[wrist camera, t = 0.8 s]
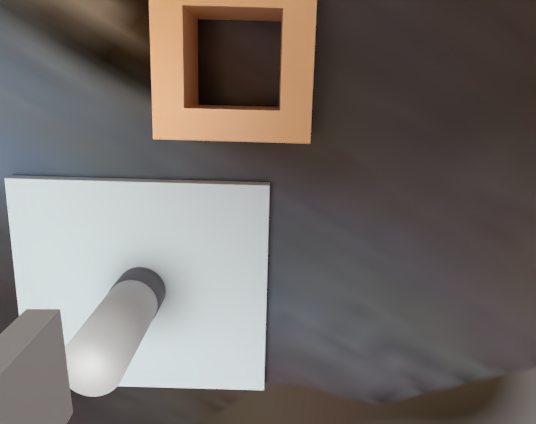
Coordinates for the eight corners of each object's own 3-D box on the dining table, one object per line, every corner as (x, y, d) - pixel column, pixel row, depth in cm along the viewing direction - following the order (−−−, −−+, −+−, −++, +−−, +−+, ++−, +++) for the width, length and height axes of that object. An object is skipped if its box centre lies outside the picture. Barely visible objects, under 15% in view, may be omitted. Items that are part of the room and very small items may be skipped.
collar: (169, -12, 28) (147, -33, 23) (310, -8, 28) (318, -28, 23) (172, 130, 30) (152, 139, 25) (304, 134, 30) (310, 143, 25)
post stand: (12, 175, 31) (-108, 215, 21) (269, 182, 31) (268, 226, 21) (33, 375, 34) (-63, 489, 24) (264, 381, 34) (261, 498, 24)
